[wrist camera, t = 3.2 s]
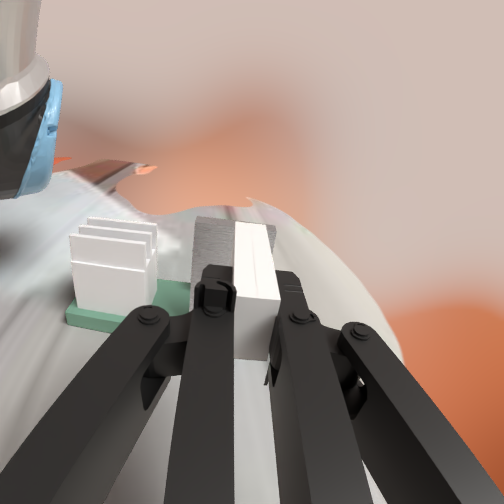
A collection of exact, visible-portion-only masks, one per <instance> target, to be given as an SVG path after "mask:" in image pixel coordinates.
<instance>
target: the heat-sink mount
mask: <svg viewBox="0 0 504 504" xmlns="http://www.w3.org/2000/svg"><path fill="white" fill-rule="evenodd" d="M87 222H88V225H80V226H79V234H73V233H71V234H70V235H69V241H70V250H71V259H72V261H71V269H72V276H73V282H74V289H75V295H76V297H75V298H74V300H73V301H72V303H71V304H70V306H69V307H68V309H67V310H66V312H65V314H66V319H67V323H68V325H72V326H77V327H82V328H87V329H92V330H97V331H102V332H108V333H113V331H114V330H115V329H116V328H117V327H118V326H119V324H120V323H121V322H122V321H123V320H124V319H125V318H126V316H127V315H128V314H129V313H130V312H131V311H132V310H134V309H135V308H137V307H140V306H143V305H154V306H159V307H161V308H163V309H165V310H166V311H167V312H168V313H169V316H178V315H183V314H186V313H188V312H189V307H190V288H191V283H186V282H178V281H169V280H162V279H157V224H156V223H147V222H137V221H128V220H118V219H108V218H98V217H88V218H87Z"/></svg>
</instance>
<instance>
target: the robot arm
mask: <svg viewBox="0 0 504 504" xmlns="http://www.w3.org/2000/svg"><path fill="white" fill-rule="evenodd" d="M40 5H41V0H0V200H3V199H10V198H13V199H16V198H18V197H19V196H23V195H27V194H32V193H37V192H40V191H42V190H43V189H45V188H46V187H47V185H48V184H49V182H50V179H51V175H52V168H53V162H54V154H55V146H56V145H55V144H56V136H57V133H56V131H57V128H58V121H59V115H60V107H61V100H62V91H63V84H62V82H60V81H58V80H54V79H50V80H49V65H48V62H47V61H46V60H45V59H44V58H43V57H42V56H41V55H39V54H38V53H36V52H35V47H36V37H37V27H38V19H39V12H40ZM268 354H270V363H269V367H268V371H267V375H266V378H265V383H264V385H267V384H268V381H269V391H270V401H271V411H272V422H273V432H274V443H275V453H276V464H277V475H278V485H279V496H280V504H373V500H372V496H371V492H370V489H369V485H368V481H367V477H366V473H365V470H364V466H363V462H364V464H365V465H366V467H367V469H368V471H369V472H370V474H371V476H372V478H373V479H374V481H375V483H376V484H377V486H378V488H379V490H380V491H381V493H382V495H383V497H384V498H385V500H386V502H387V504H504V496H503V495H502V493H501V492H500V490H499V489H498V488H497V486H496V485H495V483H494V482H493V480H492V479H491V478H490V476H489V475H488V474H487V472H486V471H485V470H484V468H483V467H482V465H481V464H480V463H479V461H478V460H477V459H476V457H475V456H474V454H473V453H472V452H471V450H470V449H469V448H468V446H467V445H466V444H465V442H464V441H463V440H462V438H461V437H460V436H459V435H458V433H457V432H456V431H455V430H454V428H453V427H452V426H451V424H450V423H449V421H448V420H447V419H446V418H445V416H444V415H443V414H442V413H441V411H440V410H439V409H438V407H437V406H436V405H435V404H434V402H433V401H432V400H431V398H430V397H429V396H428V395H427V394H426V392H425V391H424V390H423V388H422V387H421V386H420V385H419V384H418V382H417V381H416V380H415V379H414V377H413V376H412V375H411V374H410V372H409V371H408V370H407V369H406V367H405V366H404V365H403V364H402V363H401V361H400V360H399V359H398V358H397V356H396V355H395V354H394V353H393V352H392V350H391V349H390V348H389V347H388V346H387V344H386V343H385V342H384V341H383V340H382V338H381V337H380V336H379V335H378V334H377V332H376V331H375V330H374V329H372V328H371V327H370V326H368V325H366V324H364V323H360V322H349V323H346V324H345V325H344V326H343V327H342V329H341V331H340V330H336V329H332V328H329V327H326V326H323V325H321V323H320V320H319V318H318V317H317V315H316V314H315V313H313V312H312V311H310V310H309V309H308V306H307V302H306V299H305V296H304V293H303V289H302V287H301V283H300V280H299V278H298V277H297V276H296V275H295V274H294V273H293V272H289V271H279V270H275V268H274V263H273V258H272V253H271V249H270V244H269V239H268V234H267V229H266V225H262V224H254V223H245V222H235V229H234V237H233V245H232V253H231V262H230V266H223V265H214V264H208V265H207V266H206V267H205V268H204V269H203V271H202V276H201V281H200V282H198V283H197V284H196V286H195V287H194V306H193V310H192V311H190V312H188V313H186V314H183V315H178V316H169V313H168V312H167V311H166V310H165V309H163V308H161V307H159V306H154V305H143V306H140V307H137V308H135V309H134V310H132V311H131V312H130V313H129V314H128V315H127V316H126V318H125V319H124V320H123V321H122V322H121V323H120V324H119V326H118V327H117V328H116V329H115V330H114V331H113V333H112V334H111V335H110V336H109V337H108V338H107V340H106V341H105V342H104V343H103V344H102V345H101V347H100V348H99V349H98V350H97V351H96V352H95V354H94V355H93V356H92V357H91V358H90V360H89V361H88V362H87V363H86V364H85V366H84V367H83V368H82V369H81V370H80V372H79V373H78V374H77V375H76V376H75V378H74V379H73V380H72V381H71V382H70V384H69V385H68V386H67V387H66V389H65V390H64V391H63V392H62V394H61V395H60V396H59V397H58V399H57V400H56V401H55V402H54V404H53V405H52V406H51V407H50V409H49V410H48V411H47V412H46V414H45V415H44V416H43V417H42V419H41V420H40V421H39V423H38V424H37V425H36V426H35V428H34V429H33V430H32V432H31V433H30V434H29V436H28V437H27V438H26V440H25V441H24V442H23V444H22V445H21V446H20V448H19V449H18V450H17V452H16V453H15V454H14V456H13V457H12V458H11V460H10V461H9V462H8V464H7V465H6V467H5V468H4V469H3V471H2V472H1V473H0V504H103V502H104V500H105V498H106V497H107V495H108V493H109V491H110V489H111V487H112V485H113V484H114V482H115V480H116V478H117V476H118V474H119V473H120V471H121V469H122V467H123V465H124V463H125V461H126V460H127V458H128V456H129V454H130V452H131V450H132V449H133V447H134V445H135V443H136V441H137V439H138V438H139V436H140V434H141V432H142V430H143V429H144V427H145V425H146V423H147V421H148V419H149V418H150V416H151V414H152V412H153V410H154V408H155V407H156V405H157V403H158V401H159V399H160V398H161V396H162V394H163V392H164V390H165V389H166V387H167V385H168V383H169V381H170V379H171V376H176V375H182V376H181V382H180V388H179V394H178V401H177V407H176V414H175V420H174V427H173V434H172V441H171V449H170V456H169V464H168V472H167V480H166V488H165V497H164V504H235V503H234V359H244V360H258V361H267V358H268ZM360 378H361V379H362V381H363V382H364V385H363V384H362V383H361V381H360V380H359V379H360ZM361 458H362V459H361ZM362 460H363V462H362Z"/></svg>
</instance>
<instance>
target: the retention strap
mask: <svg viewBox="0 0 504 504" xmlns="http://www.w3.org/2000/svg"><path fill="white" fill-rule="evenodd" d="M235 222H242V221H234V220H226V219H217V218H208V217H200V216H197V218H196V221H195V230H194V242H193V256H192V271H191V288H190V307H189V312H190V311H192V310H193V306H194V287H195V286H196V284H197V283H198V282H200V281H201V276H202V271H203V269H204V268H205V267H206V266H207V265H208V264H214V265H223V266H230V262H231V253H232V245H233V237H234V229H235ZM245 223H251V222H245ZM254 224H259V223H254ZM262 225H266V229H267V234H268V239H269V244H270V249H271V253H272V252H273V247H274V242H275V237H276V228H275V226H274V225H267V224H262Z"/></svg>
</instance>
